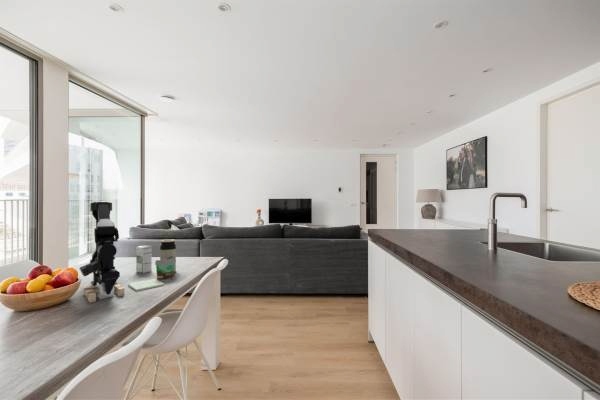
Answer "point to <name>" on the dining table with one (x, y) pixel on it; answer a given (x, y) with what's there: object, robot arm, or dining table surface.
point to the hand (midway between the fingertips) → (105, 291)
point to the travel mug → (168, 250)
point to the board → (145, 284)
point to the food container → (165, 268)
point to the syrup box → (143, 259)
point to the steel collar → (103, 291)
